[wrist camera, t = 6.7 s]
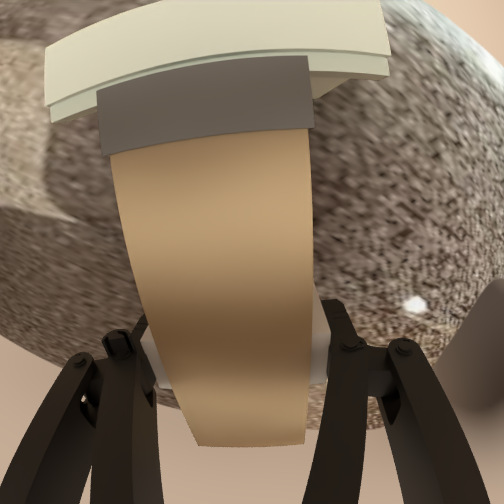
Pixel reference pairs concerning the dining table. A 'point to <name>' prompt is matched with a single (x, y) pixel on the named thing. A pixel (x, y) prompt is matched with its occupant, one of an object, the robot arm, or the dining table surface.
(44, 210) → the dining table surface
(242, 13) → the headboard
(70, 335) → the dining table surface
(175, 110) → the tan and grey block
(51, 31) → the dining table surface
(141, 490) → the robot arm
